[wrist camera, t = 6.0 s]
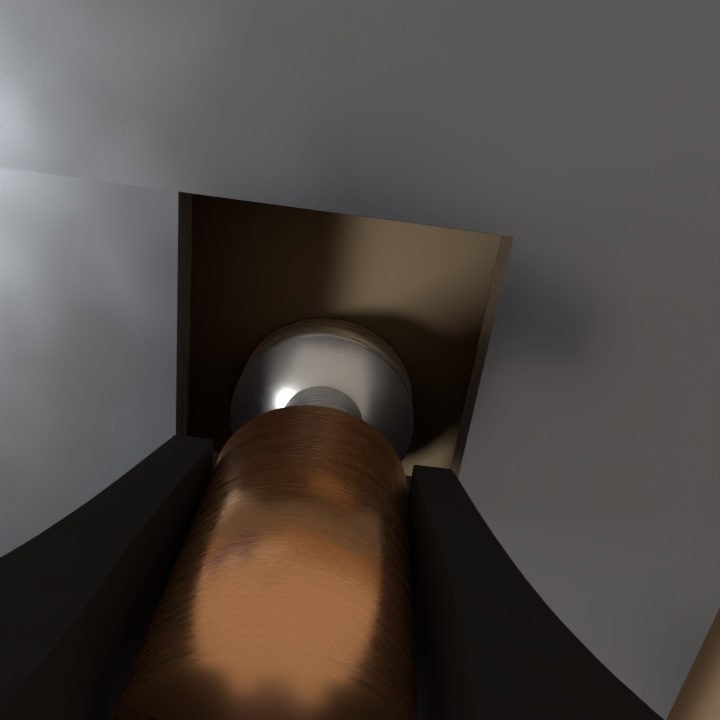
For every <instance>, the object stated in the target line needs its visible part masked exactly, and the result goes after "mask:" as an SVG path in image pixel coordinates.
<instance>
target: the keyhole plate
mask: <svg viewBox="0 0 720 720" xmlns="http://www.w3.org/2000/svg"><path fill="white" fill-rule="evenodd" d="M192 194H200V195H208V196H215V197H223V198H230V199H237V200H245V201H252V202H260V203H267V204H274V205H282V206H289V207H297V208H304V209H311V210H319V211H326V212H334V213H341V214H348V215H356V216H363V217H371V218H378V219H385V220H393V221H400V222H408V223H415V224H422V225H430V226H437V227H445V228H452V229H459V230H467V231H474V232H482V233H489V234H496V235H502V239H501V243H500V248H499V252H498V257H497V261H496V266H495V270H494V275H493V279H492V284H491V288H490V293H489V298H488V302H487V307H486V311H485V316H484V320H483V325H482V329H481V334H480V338H479V343H478V347H477V352H476V356H475V361H474V365H473V370H472V374H471V379H470V383H469V388H468V392H467V397H466V401H465V406H464V410H463V415H462V419H461V424H460V429H459V433H458V438H457V442H456V447H455V451H454V456H453V460H452V465H451V469H452V471H453V472H454V473H455V475H456V476H457V478H458V479H459V481H460V482H461V484H462V486H463V487H464V489H465V491H466V492H467V494H468V495H469V497H470V499H471V500H472V502H473V503H474V505H475V507H476V508H477V510H478V511H479V513H480V514H481V516H482V517H483V519H484V520H485V522H486V524H487V525H488V527H489V528H490V529H491V531H492V532H493V534H494V535H495V537H496V538H497V540H498V541H499V542H500V544H501V545H502V547H503V548H504V549H505V551H506V552H507V554H508V555H509V556H510V558H511V559H512V561H513V562H514V563H515V565H516V566H517V567H518V569H519V570H520V571H521V573H522V574H523V575H524V577H525V578H526V579H527V581H528V582H529V583H530V584H531V586H532V587H533V588H534V589H535V590H536V592H537V593H538V594H539V595H540V597H541V598H542V599H543V600H544V602H545V603H546V604H547V605H548V606H549V607H550V609H551V610H552V611H553V612H554V613H555V614H556V615H557V617H558V618H559V619H560V620H561V621H562V622H563V623H564V624H565V625H566V626H567V627H568V628H569V630H570V631H571V632H572V633H573V634H574V635H575V636H576V637H577V638H578V639H579V640H580V641H581V642H582V643H583V644H584V645H585V646H586V647H587V648H588V649H589V650H590V652H591V653H592V654H593V655H594V656H595V657H596V658H597V659H598V660H599V661H600V662H601V663H602V664H603V665H605V666H606V667H607V668H608V669H609V670H610V671H611V672H612V673H613V674H614V675H615V676H616V677H617V678H618V679H619V680H620V681H621V682H623V683H624V684H625V685H626V686H627V687H628V688H629V689H630V690H631V691H632V692H634V693H635V694H636V695H637V696H638V697H639V698H640V699H641V700H642V701H644V702H645V703H646V704H647V705H648V706H649V707H650V708H651V709H652V710H654V711H655V712H656V713H657V714H658V715H659V716H660V717H662V718H663V719H664V720H667V717H668V715H669V713H670V711H671V709H672V707H673V705H674V703H675V701H676V699H677V696H678V694H679V692H680V690H681V688H682V686H683V684H684V682H685V680H686V678H687V676H688V673H689V671H690V669H691V667H692V665H693V663H694V661H695V659H696V657H697V655H698V652H699V650H700V648H701V646H702V644H703V642H704V640H705V638H706V636H707V634H708V632H709V629H710V627H711V625H712V623H713V621H714V619H715V617H716V615H717V613H718V611H719V608H720V0H0V557H2V556H4V555H5V554H7V553H9V552H11V551H12V550H14V549H16V548H17V547H19V546H21V545H22V544H24V543H26V542H27V541H29V540H31V539H32V538H34V537H36V536H37V535H39V534H40V533H42V532H43V531H45V530H46V529H48V528H49V527H51V526H52V525H54V524H55V523H57V522H58V521H60V520H61V519H63V518H64V517H66V516H67V515H69V514H70V513H72V512H73V511H75V510H76V509H78V508H79V507H81V506H82V505H83V504H85V503H86V502H88V501H89V500H90V499H92V498H93V497H94V496H96V495H97V494H98V493H100V492H101V491H102V490H104V489H105V488H106V487H108V486H109V485H110V484H112V483H113V482H115V481H116V480H117V479H119V478H120V477H121V476H122V475H124V474H125V473H126V472H128V471H129V470H130V469H131V468H133V467H134V466H135V465H137V464H138V463H139V462H140V461H142V460H143V459H144V458H146V457H147V456H148V455H149V454H151V453H152V452H153V451H154V450H156V449H157V448H158V447H160V446H161V445H162V444H164V443H165V442H166V441H168V440H169V439H170V438H172V437H173V436H174V435H182V436H188V391H189V342H190V293H191V244H192ZM220 453H221V452H216V451H213V460H212V472H213V469H214V467H215V464H216V462H217V459H218V457H219V455H220ZM411 478H412V476H406V482H407V499H408V493H409V488H410V483H411Z"/></svg>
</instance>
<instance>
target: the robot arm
mask: <svg viewBox="0 0 720 720" xmlns="http://www.w3.org/2000/svg"><path fill="white" fill-rule="evenodd" d="M212 460H213V439H205V438H198V437H190V436H182V435H174V436H173V437H172V438H170V439H169V440H168V441H166V442H165V443H164V444H162V445H161V446H160V447H158V448H157V449H156V450H154V451H153V452H152V453H151V454H149V455H148V456H147V457H146V458H144V459H143V460H142V461H140V462H139V463H138V464H137V465H135V466H134V467H133V468H131V469H130V470H129V471H128V472H126V473H125V474H124V475H122V476H121V477H120V478H119V479H117V480H116V481H115V482H113V483H112V484H110V485H109V486H108V487H106V488H105V489H104V490H102V491H101V492H100V493H98V494H97V495H96V496H94V497H93V498H92V499H90V500H89V501H88V502H86V503H85V504H83V505H82V506H81V507H79V508H78V509H76V510H75V511H73V512H72V513H70V514H69V515H67V516H66V517H64V518H63V519H61V520H60V521H58V522H57V523H55V524H54V525H52V526H51V527H49V528H48V529H46V530H45V531H43V532H42V533H40V534H39V535H37V536H36V537H34V538H32V539H31V540H29V541H27V542H26V543H24V544H22V545H21V546H19V547H17V548H16V549H14V550H12V551H11V552H9V553H7V554H5V555H4V556H2V557H0V720H111V718H112V715H113V713H114V710H115V708H116V706H117V703H118V701H119V698H120V696H121V693H122V691H123V689H124V686H125V684H126V681H127V679H128V676H129V674H130V671H131V669H132V667H133V664H134V662H135V659H136V657H137V654H138V652H139V650H140V647H141V645H142V642H143V640H144V637H145V635H146V632H147V630H148V628H149V625H150V623H151V620H152V618H153V615H154V613H155V611H156V608H157V606H158V603H159V601H160V598H161V596H162V593H163V591H164V589H165V586H166V584H167V581H168V579H169V576H170V574H171V572H172V569H173V567H174V564H175V562H176V559H177V557H178V554H179V552H180V550H181V547H182V545H183V542H184V540H185V537H186V535H187V533H188V530H189V528H190V525H191V523H192V520H193V518H194V515H195V513H196V511H197V508H198V506H199V503H200V501H201V498H202V496H203V494H204V491H205V489H206V486H207V484H208V481H209V479H210V476H211V474H212ZM408 519H409V540H410V560H411V581H412V602H413V622H414V643H415V663H416V684H417V704H418V720H664V719H663V718H662V717H660V716H659V715H658V714H657V713H656V712H655V711H654V710H652V709H651V708H650V707H649V706H648V705H647V704H646V703H645V702H644V701H642V700H641V699H640V698H639V697H638V696H637V695H636V694H635V693H634V692H632V691H631V690H630V689H629V688H628V687H627V686H626V685H625V684H624V683H623V682H621V681H620V680H619V679H618V678H617V677H616V676H615V675H614V674H613V673H612V672H611V671H610V670H609V669H608V668H607V667H606V666H605V665H603V664H602V663H601V662H600V661H599V660H598V659H597V658H596V657H595V656H594V655H593V654H592V653H591V652H590V650H589V649H588V648H587V647H586V646H585V645H584V644H583V643H582V642H581V641H580V640H579V639H578V638H577V637H576V636H575V635H574V634H573V633H572V632H571V631H570V630H569V628H568V627H567V626H566V625H565V624H564V623H563V622H562V621H561V620H560V619H559V618H558V617H557V615H556V614H555V613H554V612H553V611H552V610H551V609H550V607H549V606H548V605H547V604H546V603H545V602H544V600H543V599H542V598H541V597H540V595H539V594H538V593H537V592H536V590H535V589H534V588H533V587H532V586H531V584H530V583H529V582H528V581H527V579H526V578H525V577H524V575H523V574H522V573H521V571H520V570H519V569H518V567H517V566H516V565H515V563H514V562H513V561H512V559H511V558H510V556H509V555H508V554H507V552H506V551H505V549H504V548H503V547H502V545H501V544H500V542H499V541H498V540H497V538H496V537H495V535H494V534H493V532H492V531H491V529H490V528H489V527H488V525H487V524H486V522H485V520H484V519H483V517H482V516H481V514H480V513H479V511H478V510H477V508H476V507H475V505H474V503H473V502H472V500H471V499H470V497H469V495H468V494H467V492H466V491H465V489H464V487H463V486H462V484H461V482H460V481H459V479H458V478H457V476H456V475H455V473H454V472H453V471H452V469H444V468H436V467H428V466H420V465H414V467H413V472H412V478H411V483H410V488H409V493H408Z"/></svg>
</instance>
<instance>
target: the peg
mask: <svg viewBox="0 0 720 720" xmlns="http://www.w3.org/2000/svg"><path fill="white" fill-rule="evenodd" d="M230 421H231V428H232V432H233V435H232V436H231V437H230V438H229V440H228V441H227V442H226V444H225V445H224V447H223V449H222V451H221V453H220V455H219V457H218V459H217V462H216V464H215V467H214V469H213V472H212V474H211V476H210V479H209V481H208V484H207V486H206V489H205V491H204V494H203V496H202V498H201V501H200V503H199V506H198V508H197V511H196V513H195V515H194V518H193V520H192V523H191V525H190V528H189V530H188V533H187V535H186V537H185V540H184V542H183V545H182V547H181V550H180V552H179V554H178V557H177V559H176V562H175V564H174V567H173V569H172V572H171V574H170V576H169V579H168V581H167V584H166V586H165V589H164V591H163V593H162V596H161V598H160V601H159V603H158V606H157V608H156V611H155V613H154V615H153V618H152V620H151V623H150V625H149V628H148V630H147V632H146V635H145V637H144V640H143V642H142V645H141V647H140V650H139V652H138V654H137V657H136V659H135V662H134V664H133V667H132V669H131V671H130V674H129V676H128V679H127V681H126V684H125V686H124V689H123V691H122V693H121V696H120V698H119V701H118V703H117V706H116V708H115V710H114V713H113V715H112V718H111V720H418V704H417V684H416V663H415V643H414V622H413V602H412V581H411V560H410V540H409V519H408V499H407V482H406V476H405V472H404V469H403V465H402V463H401V461H402V460H403V458H404V457H405V455H406V453H407V451H408V448H409V446H410V443H411V440H412V435H413V429H414V412H413V399H412V389H411V382H410V379H409V376H408V373H407V370H406V368H405V366H404V364H403V362H402V361H401V359H400V358H399V356H398V354H397V353H396V352H395V351H394V350H393V349H392V347H391V346H390V345H389V344H388V343H386V342H385V341H384V340H383V339H382V338H381V337H379V336H378V335H376V334H375V333H373V332H372V331H370V330H368V329H366V328H364V327H362V326H359V325H357V324H354V323H351V322H347V321H343V320H338V319H329V318H316V319H308V320H302V321H299V322H295V323H292V324H289V325H287V326H285V327H282V328H280V329H279V330H277V331H275V332H273V333H272V334H271V335H269V336H268V337H267V338H265V339H264V340H263V341H262V342H261V343H260V344H259V345H258V346H257V347H256V349H255V350H254V351H253V353H252V354H251V356H250V357H249V359H248V361H247V363H246V365H245V367H244V370H243V372H242V374H241V376H240V379H239V381H238V383H237V385H236V388H235V391H234V394H233V397H232V402H231V407H230Z"/></svg>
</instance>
